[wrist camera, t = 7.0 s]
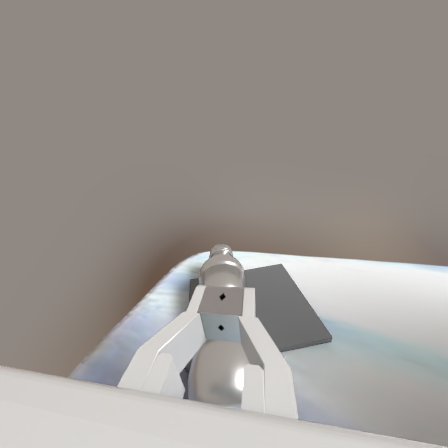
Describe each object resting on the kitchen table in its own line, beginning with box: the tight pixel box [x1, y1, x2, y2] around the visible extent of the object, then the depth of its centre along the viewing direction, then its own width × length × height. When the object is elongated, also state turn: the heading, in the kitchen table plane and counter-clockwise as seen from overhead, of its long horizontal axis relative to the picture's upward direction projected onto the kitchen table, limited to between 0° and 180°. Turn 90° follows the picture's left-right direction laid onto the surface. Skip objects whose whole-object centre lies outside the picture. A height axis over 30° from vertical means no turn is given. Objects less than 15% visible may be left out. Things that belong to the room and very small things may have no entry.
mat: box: [185, 264, 332, 372], centre depth 25 cm, size 16×13×1 cm
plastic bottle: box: [188, 244, 250, 409], centre depth 21 cm, size 6×7×20 cm
